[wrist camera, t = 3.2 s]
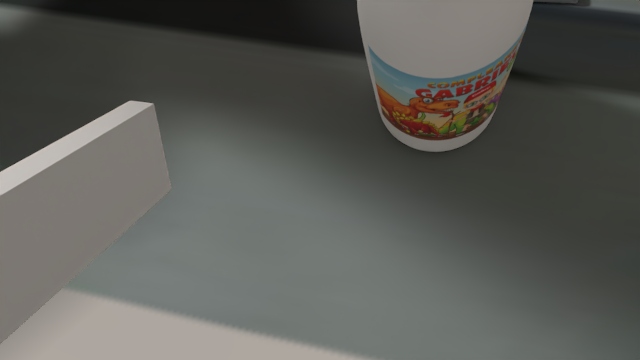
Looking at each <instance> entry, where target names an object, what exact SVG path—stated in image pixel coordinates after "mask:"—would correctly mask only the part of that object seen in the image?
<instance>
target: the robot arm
mask: <svg viewBox="0 0 640 360" xmlns="http://www.w3.org/2000/svg"><path fill="white" fill-rule="evenodd" d="M170 190H172V188H171V183H170V178H169V174H168V169H167V164H166V159H165V154H164V149H163V145H162V140H161V135H160V130H159V125H158V121H157V116H156V111H155V106H154V104H153V103H146V102H138V101H128V102H126V103H125V104H123V105H121V106H119V107H117V108H116V109H114V110H112V111H110V112H108V113H106V114H105V115H103V116H101V117H99V118H97V119H96V120H94V121H92V122H90V123H88V124H87V125H85V126H83V127H81V128H79V129H77V130H76V131H74V132H72V133H70V134H68V135H67V136H65V137H63V138H61V139H59V140H57V141H56V142H54V143H52V144H50V145H48V146H47V147H45V148H43V149H41V150H39V151H37V152H36V153H34V154H32V155H30V156H28V157H27V158H25V159H23V160H21V161H19V162H17V163H16V164H14V165H12V166H10V167H8V168H7V169H5V170H3V171H1V172H0V344H1V343H2V342H3V341H4V340H5V339H6V338H8V336H10V335H11V334H12V333H13V332H14V331H15V330H16V329H18V328H19V326H21V325H22V324H23V323H24V322H25V321H26V320H28V318H30V316H32V315H33V314H34V313H35V312H36V311H37V310H39V309H40V308H41V307H42V306H43V305H44V304H45V303H46V302H47V301H49V300H50V299H51V298H52V297H53V296H54V295H55V294H56V293H57V292H59V291H60V290H61V289H62V288H63V287H64V286H65V285H66V284H67V283H68V282H70V281H71V280H72V279H73V278H74V277H75V276H76V275H77V274H78V273H80V272H81V271H82V270H83V269H84V268H85V267H86V266H87V265H88V264H90V263H91V262H92V261H93V260H94V259H95V258H96V257H97V256H98V255H100V254H101V253H102V252H103V251H104V250H105V249H106V248H107V247H108V246H109V245H111V244H112V243H113V242H114V241H115V240H116V239H117V238H118V237H119V236H121V235H122V234H123V233H124V232H125V231H126V230H127V229H128V228H129V227H131V226H132V225H133V224H134V223H135V222H136V221H137V220H138V219H139V218H141V217H142V216H143V215H144V214H145V213H146V212H147V211H148V210H149V209H150V208H152V207H153V206H154V205H155V204H156V203H157V202H158V201H159V200H160V199H162V198H163V197H164V196H165V195H166V194H167V193H168V192H169V191H170Z"/></svg>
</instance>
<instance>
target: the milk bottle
mask: <svg viewBox="0 0 640 360" xmlns="http://www.w3.org/2000/svg"><path fill="white" fill-rule="evenodd" d="M532 4H533V0H357V9H358V17H359V23H360V29H361V35H362V40H363V45H364V49H365V54H366V59H367V63H368V68H369V72H370V76H371V80H372V85H373V89H374V93H375V97H376V101H377V105H378V109H379V112H380V115H381V118H382V120H383V122H384V124H385V126H386V128H387V129H388V130H389V131H390V133H391V134H392V135H393V136H394V137H395V138H397V139H398V140H399V141H401V142H402V143H404V144H406V145H408V146H410V147H412V148H415V149H418V150H423V151H429V152H441V151H448V150H452V149H456V148H459V147H461V146H463V145H465V144H467V143H469V142H471V141H472V140H473V139H475V138H476V137H477V136H478V135H480V134H481V133H482V132H483V130H484V129H485V128H486V127H487V125H488V124H489V122H490V120H491V118H492V116H493V114H494V112H495V110H496V108H497V105H498V102H499V100H500V97H501V95H502V92H503V89H504V87H505V84H506V81H507V79H508V76H509V74H510V71H511V68H512V65H513V63H514V60H515V57H516V54H517V51H518V49H519V46H520V43H521V40H522V38H523V35H524V32H525V29H526V25H527V22H528V19H529V15H530V12H531V8H532Z"/></svg>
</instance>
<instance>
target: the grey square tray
mask: <svg viewBox="0 0 640 360" xmlns="http://www.w3.org/2000/svg"><path fill="white" fill-rule="evenodd" d="M533 1H535V2H556V3H577V2H578V0H533Z"/></svg>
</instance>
